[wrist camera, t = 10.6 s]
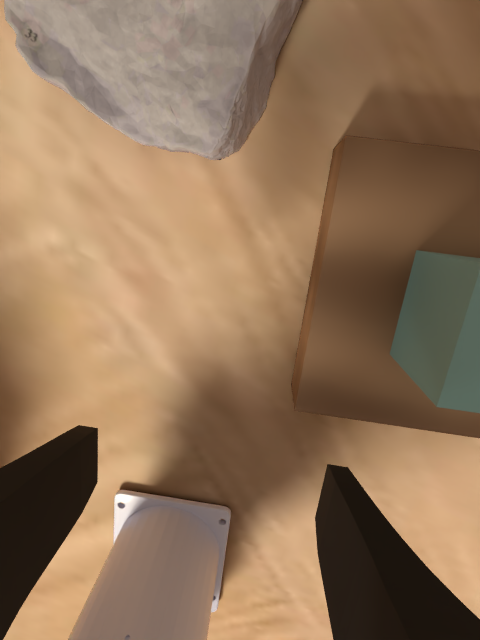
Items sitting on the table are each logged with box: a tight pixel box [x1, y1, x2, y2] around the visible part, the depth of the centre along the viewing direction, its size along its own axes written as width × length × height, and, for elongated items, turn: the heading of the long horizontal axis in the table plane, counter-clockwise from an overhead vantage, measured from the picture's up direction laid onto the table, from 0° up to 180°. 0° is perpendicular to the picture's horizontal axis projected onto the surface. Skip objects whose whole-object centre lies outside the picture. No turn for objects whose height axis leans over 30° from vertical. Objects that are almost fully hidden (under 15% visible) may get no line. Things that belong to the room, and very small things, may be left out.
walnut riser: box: [291, 136, 480, 438], centre depth 18 cm, size 13×13×3 cm
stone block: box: [4, 0, 303, 160], centre depth 16 cm, size 12×5×10 cm
